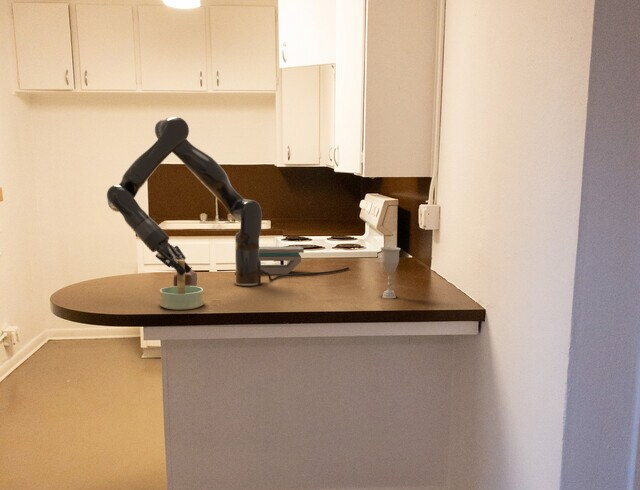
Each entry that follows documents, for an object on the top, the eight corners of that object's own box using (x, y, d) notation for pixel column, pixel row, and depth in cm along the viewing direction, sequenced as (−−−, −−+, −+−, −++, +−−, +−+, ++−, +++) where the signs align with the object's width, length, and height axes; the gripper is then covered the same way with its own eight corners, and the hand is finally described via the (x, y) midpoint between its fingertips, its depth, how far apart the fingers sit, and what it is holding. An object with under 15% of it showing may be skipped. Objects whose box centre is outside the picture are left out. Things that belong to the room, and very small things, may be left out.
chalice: (400, 296, 245) (402, 247, 241) (396, 299, 238) (398, 250, 235) (381, 294, 247) (383, 246, 243) (376, 297, 241) (378, 248, 237)
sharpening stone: (245, 274, 282) (245, 249, 280) (244, 271, 290) (244, 246, 288) (303, 274, 286) (303, 249, 284) (301, 271, 293) (301, 246, 291)
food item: (176, 289, 249) (175, 263, 248) (197, 289, 250) (197, 263, 248) (172, 296, 236) (171, 269, 234) (195, 296, 237) (194, 269, 235)
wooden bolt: (187, 301, 226) (186, 258, 223) (190, 305, 221) (189, 260, 218) (172, 302, 224) (171, 259, 221) (175, 306, 220) (174, 261, 217)
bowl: (198, 300, 232) (198, 284, 231) (207, 308, 219) (207, 292, 218) (157, 302, 227) (156, 287, 226) (163, 311, 214) (163, 295, 213)
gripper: (149, 229, 212) (185, 268, 212) (168, 225, 226) (202, 261, 226) (134, 245, 214) (170, 283, 214) (154, 239, 228) (188, 276, 228)
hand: (186, 272), depth 220 cm, fingers open, 4 cm apart
